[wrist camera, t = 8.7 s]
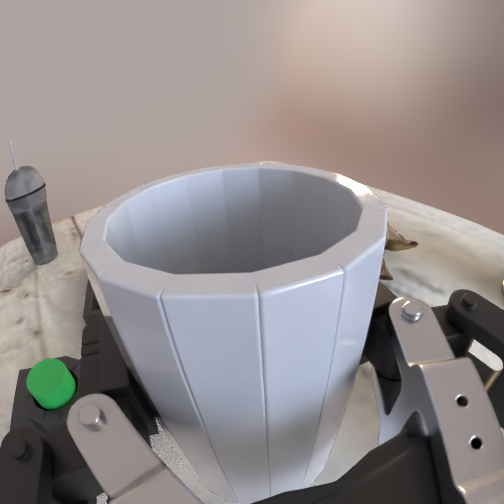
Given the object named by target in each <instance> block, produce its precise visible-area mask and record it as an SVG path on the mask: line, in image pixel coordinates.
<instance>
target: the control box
mask: <svg viewBox="0 0 504 504" xmlns="http://www.w3.org/2000/svg"><path fill="white" fill-rule="evenodd" d="M53 359H58V360H60V361H62V362H63V363H64V364H65V366H66V368H67V369H68V371H69V372H70V374H71V375H72V377H73V378H74V380H75V382H76V392H75V395H74V397H73V398H72V400H71V401H70V402H69V403H68V404H66V405H65V406H63V407H62V408H60V409H57V410H49V409H46V408H44V407H42V406H41V405H40V404H39V402H38V401H37V400H36V399H35V398H34V396H33V395H32V394H31V393H30V391H29V390H28V388H27V383H26V381H27V376H28V374H29V372H30V370H31V369H32V368H29V369H23V370H20V371H19V376H18V381H17V386H16V392H15V397H14V404H13V410H12V418H11V426H10V431H11V430H13V429H14V428H17V427H21V426H26V427H30V428H32V429H34V430H35V431H36V432H37V433H38V434H39V435H42V434H44V433H46V432H48V431H50V430H52V429H55V428H57V427H59V426H61V425H62V424H64V423H65V422H67V415H68V412H69V410H70V408H71V407H72V405H73V404H74V403H75V402H76V401H77V400H79V397H80V364H81V359H79V360H78V359H74V358H71V357H68V356H64V357H58V358H53Z"/></svg>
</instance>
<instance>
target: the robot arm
mask: <svg viewBox="0 0 504 504" xmlns="http://www.w3.org/2000/svg"><path fill="white" fill-rule="evenodd" d="M502 292H503V295H504V281H503V284H502ZM474 339H475V340H476V341H478V342H479V343H480V344H482V345H483V346H485V347H486V348H487V349H489V350H490V351H492V352H493V353H494V354H496V355H497V356H498V357H500V358H501V360H502V362H503V369H502V370H500V371H495V370H493V369H491V368H490V367H489V366H487V365H486V364H484V363H483V362H482V361H480V360H479V359H478V358H476V357H475V356H474V355H472V354H471V353H470V352H468V351H469V349H470V347H471V345H472V343H473V341H474ZM81 356H82V358H81V364H80V397H79V400H77V401H76V402H75V403H74V404H73V405H72V407H71V408H70V410H69V412H68V415H67V422H65V423H64V424H62V425H61V426H59V427H57V428H55V429H52V430H50V431H48V432H46V433H44V434H42V435H39V434H38V433H37V432H36V431H35V430H34V429H32V428H30V427H26V426H21V427H17V428H14V429H13V430H11V431H10V432H9V433H8V434H7V435H6V436H5V437H4V439H3V441H2V444H1V447H0V504H96V496H98V495H100V494H102V493H104V492H105V493H106V495H107V497H108V500H107V504H204V503H203V502H202V501H201V500H200V499H199V498H198V497H197V496H196V495H194V494H193V493H192V492H191V491H190V490H189V489H188V488H187V486H186V485H185V484H184V483H183V482H182V481H181V480H180V479H179V478H178V477H177V476H176V475H175V474H174V473H173V472H172V471H171V470H170V469H169V468H168V466H167V465H166V464H164V462H163V461H162V460H161V459H160V458H159V457H158V456H157V455H156V453H155V452H154V451H153V450H152V447H151V443H150V438H149V436H150V435H155V434H159V432H158V428H157V423H156V418H155V416H154V414H153V412H152V411H151V409H150V407H149V406H148V404H147V402H146V400H145V398H144V397H143V395H142V393H141V391H140V389H139V388H138V386H137V384H136V382H135V380H134V378H133V376H132V374H131V373H130V371H129V369H128V367H127V365H126V363H125V361H124V359H123V357H122V355H121V353H120V350H119V348H118V346H117V344H116V342H115V340H114V338H113V336H112V333H111V331H110V329H109V327H108V324H107V322H106V320H105V318H104V315H103V313H102V311H101V308H100V317H96V318H91V319H89V321H88V323H87V325H86V327H85V328H84V330H83V335H82V347H81ZM368 361H370V363H371V364H372V365H373V366H372V369H371V377H372V382H373V387H374V392H375V396H376V401H377V406H378V411H379V417H380V431H379V438H378V445H379V446H378V447H376V448H375V449H373V450H371V451H370V452H369V453H368V454H366V455H365V456H364V457H363V458H362V459H361V460H360V461H359V462H358V463H357V464H356V465H355V466H353V467H352V468H351V469H350V470H349V471H348V472H347V473H345V474H344V475H343V476H342V477H341V478H340V479H338V480H337V481H335V482H332V483H328V484H324V485H319V486H314V487H309V488H304V489H298V490H292V491H286V492H282V493H280V494H277V495H274V496H272V497H269V498H266V499H263V500H260V501H257V502H254V503H251V504H504V436H503V433H502V430H501V428H502V429H504V310H502V309H501V308H499V307H497V306H496V305H494V304H493V303H491V302H490V301H488V300H486V299H485V298H483V297H482V296H480V295H478V294H477V293H475V292H473V291H470V290H464V289H461V290H456V291H454V292H453V293H452V294H451V296H450V299H449V302H448V305H443V306H437V307H431V308H430V307H429V306H428V305H427V304H426V303H425V302H423V301H421V300H419V299H416V298H410V297H403V298H398V297H397V296H395V295H394V294H393V293H392V292H391V291H390V290H388V289H387V288H386V287H385V286H384V285H382V284H381V283H380V282H378V287H377V292H376V297H375V302H374V306H373V311H372V315H371V320H370V324H369V328H368V332H367V336H366V340H365V344H364V348H363V352H362V356H361V359H360V363H359V365H361V364H363V363H365V362H368Z"/></svg>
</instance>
